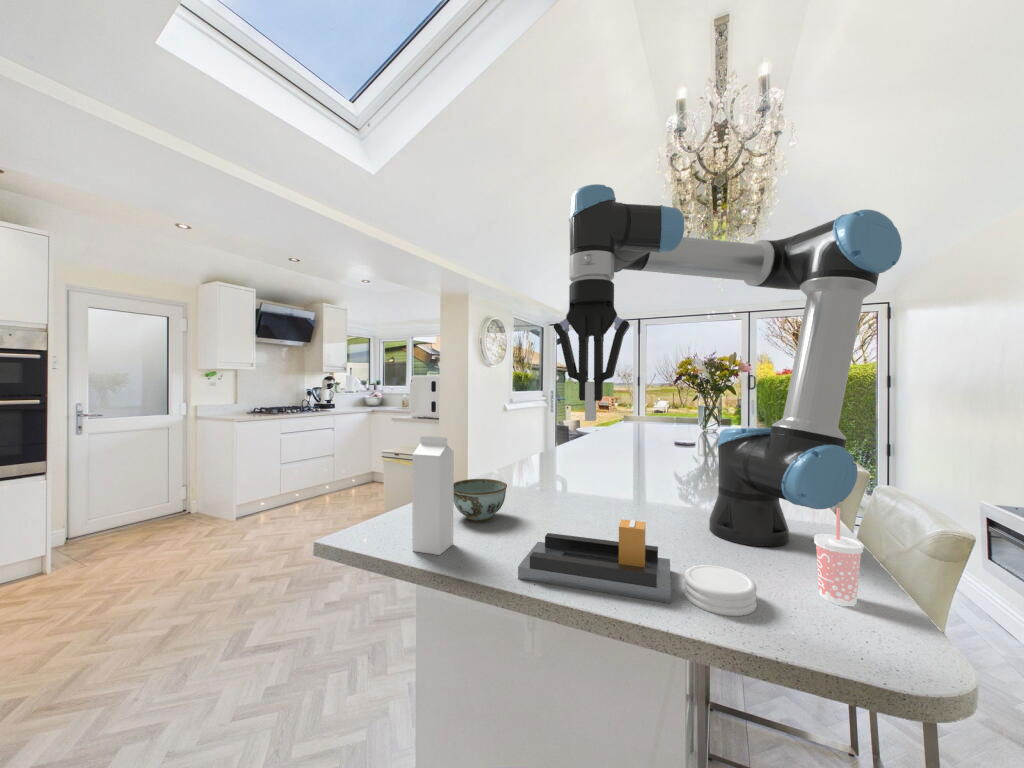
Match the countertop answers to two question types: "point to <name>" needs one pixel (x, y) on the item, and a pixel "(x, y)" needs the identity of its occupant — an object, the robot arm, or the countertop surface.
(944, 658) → the countertop surface
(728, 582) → the coaster
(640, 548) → the lever
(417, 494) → the milk
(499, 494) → the bowl
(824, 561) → the beverage cup
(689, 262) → the robot arm
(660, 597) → the panel
